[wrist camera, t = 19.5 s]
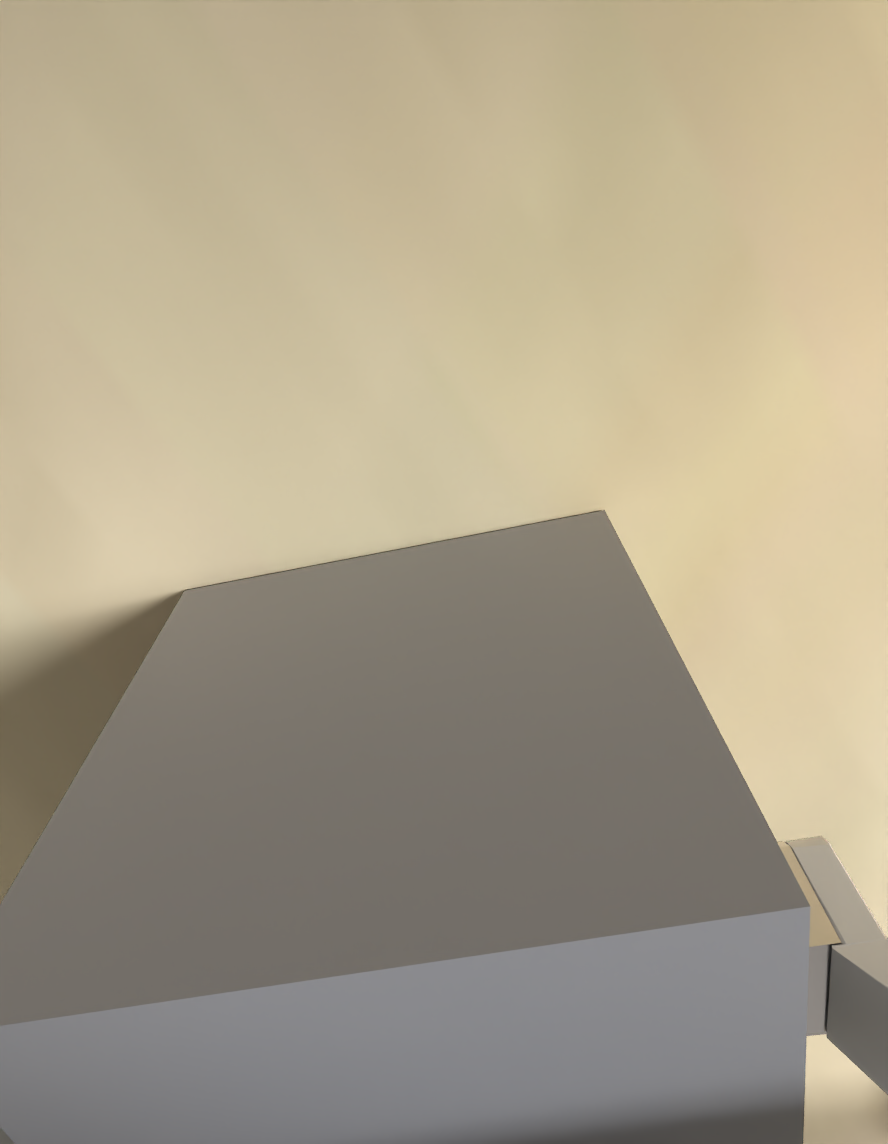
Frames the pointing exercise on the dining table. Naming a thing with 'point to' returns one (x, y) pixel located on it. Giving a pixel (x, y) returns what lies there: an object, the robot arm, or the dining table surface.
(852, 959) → the robot arm
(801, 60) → the dining table surface
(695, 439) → the dining table surface
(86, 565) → the dining table surface
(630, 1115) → the matte grey cube
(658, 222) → the dining table surface
